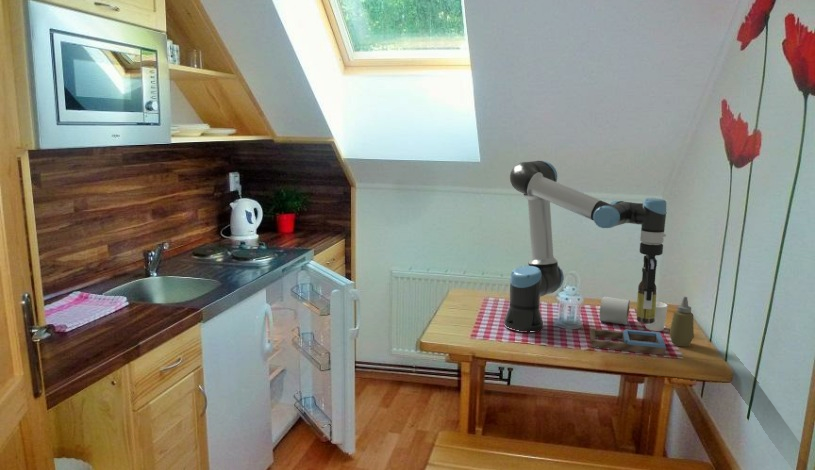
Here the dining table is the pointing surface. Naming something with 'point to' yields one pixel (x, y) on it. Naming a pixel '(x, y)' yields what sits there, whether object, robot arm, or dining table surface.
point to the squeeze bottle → (682, 325)
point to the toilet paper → (614, 310)
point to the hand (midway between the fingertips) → (646, 305)
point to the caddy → (629, 341)
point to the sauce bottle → (643, 314)
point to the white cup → (658, 317)
